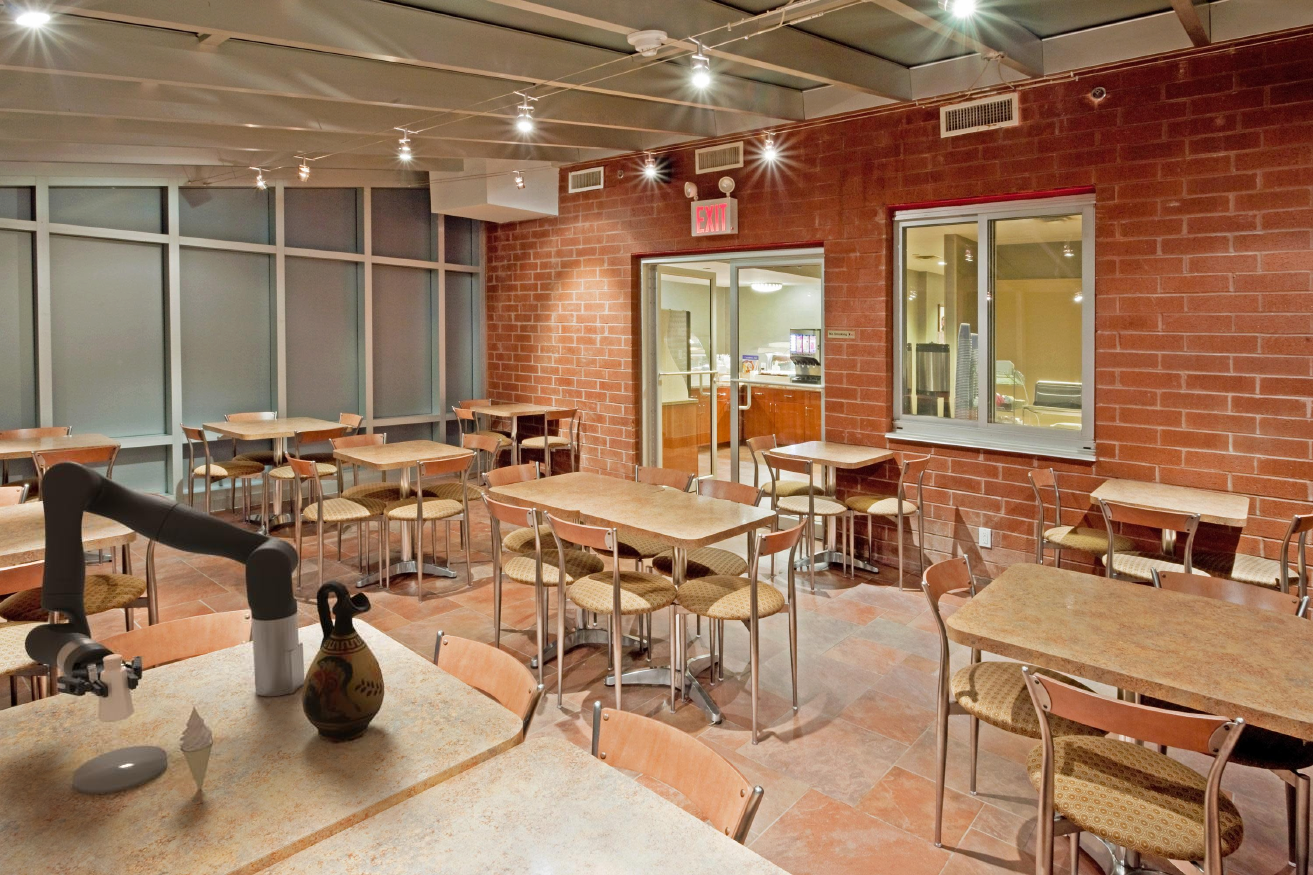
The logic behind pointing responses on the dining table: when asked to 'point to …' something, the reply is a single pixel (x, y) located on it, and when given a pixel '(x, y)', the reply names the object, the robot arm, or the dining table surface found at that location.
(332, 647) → the ceramic jug
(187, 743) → the ice cream cone
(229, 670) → the dining table surface
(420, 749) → the dining table surface
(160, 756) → the grey round coaster
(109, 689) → the pepper shaker
